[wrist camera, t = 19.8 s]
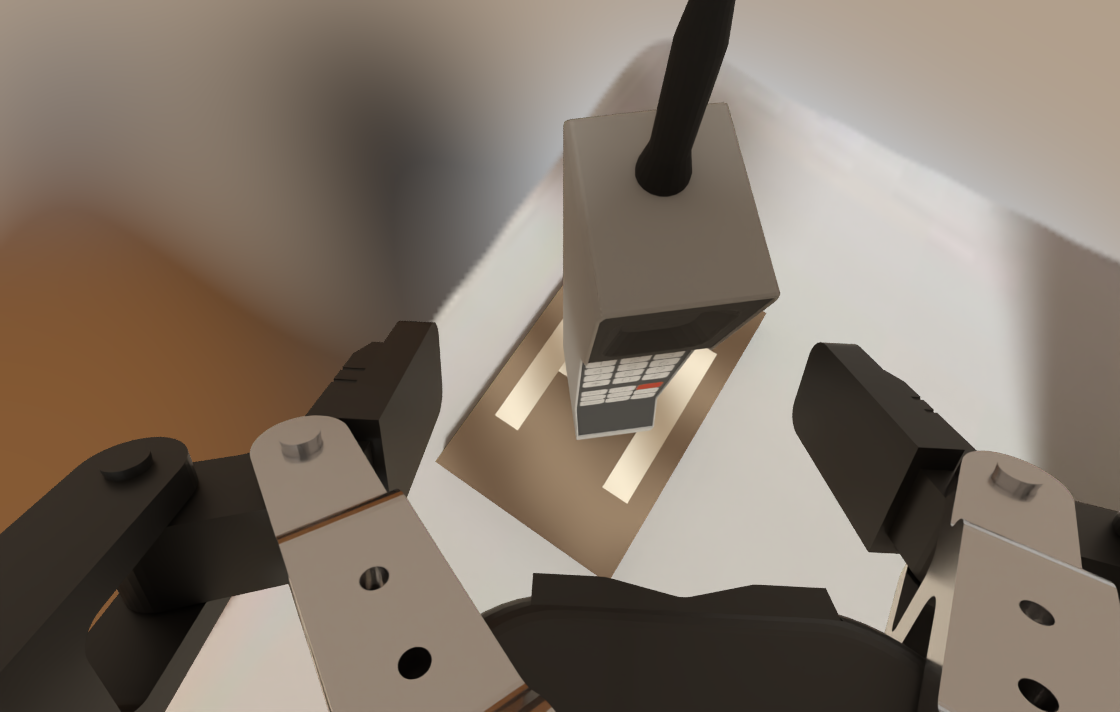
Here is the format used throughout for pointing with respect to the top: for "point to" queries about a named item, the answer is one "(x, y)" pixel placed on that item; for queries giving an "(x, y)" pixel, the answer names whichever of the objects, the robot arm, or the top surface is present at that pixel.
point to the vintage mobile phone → (657, 237)
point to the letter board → (580, 445)
